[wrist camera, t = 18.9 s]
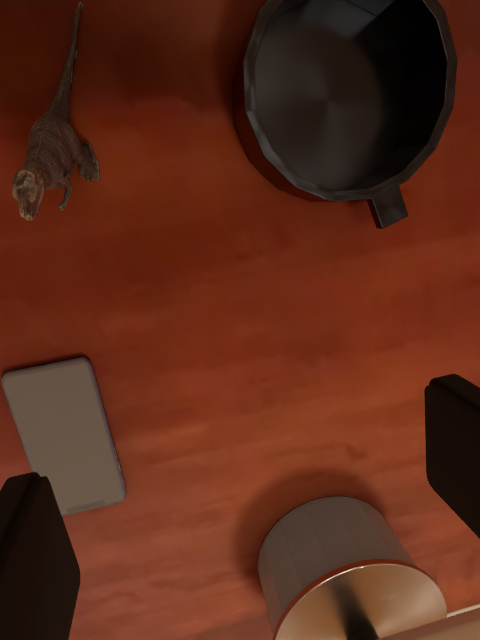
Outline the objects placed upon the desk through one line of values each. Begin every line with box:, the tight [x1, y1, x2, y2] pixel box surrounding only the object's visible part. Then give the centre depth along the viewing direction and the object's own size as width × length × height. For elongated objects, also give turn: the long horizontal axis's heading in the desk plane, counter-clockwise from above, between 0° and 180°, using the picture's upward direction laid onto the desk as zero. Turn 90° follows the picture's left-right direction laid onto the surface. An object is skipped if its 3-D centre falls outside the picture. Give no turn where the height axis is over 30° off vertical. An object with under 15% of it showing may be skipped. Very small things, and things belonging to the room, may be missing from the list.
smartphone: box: [2, 357, 127, 516], centre depth 38 cm, size 8×1×15 cm
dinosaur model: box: [12, 2, 99, 221], centre depth 27 cm, size 4×12×15 cm
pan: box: [232, 0, 457, 229], centre depth 32 cm, size 16×21×6 cm
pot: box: [258, 496, 416, 636], centre depth 43 cm, size 16×16×9 cm
